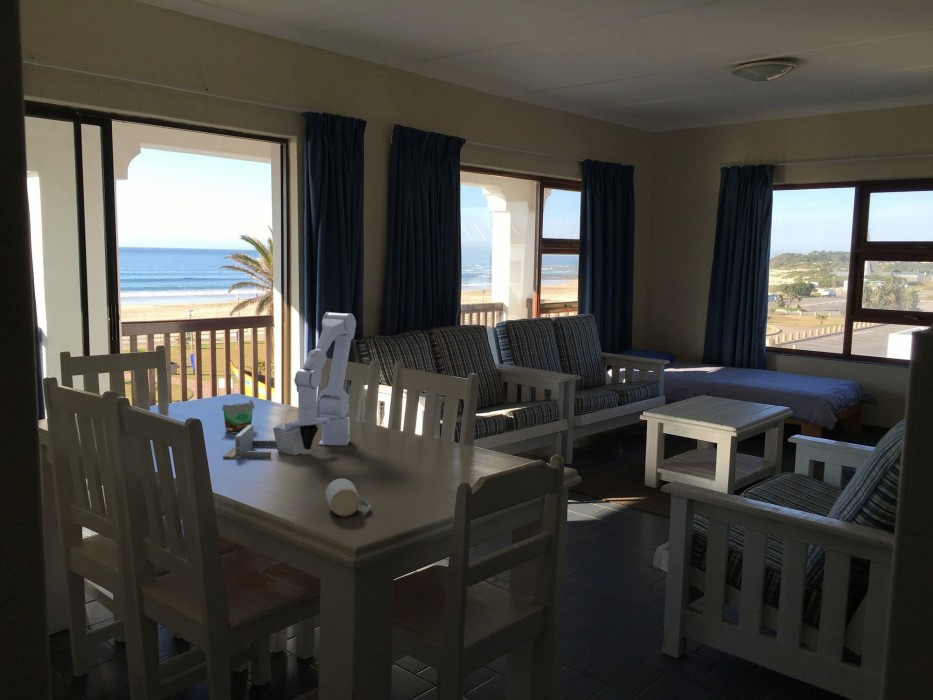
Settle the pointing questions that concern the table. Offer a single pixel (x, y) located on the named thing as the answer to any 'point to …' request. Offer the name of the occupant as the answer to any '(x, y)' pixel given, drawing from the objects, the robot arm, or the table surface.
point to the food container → (237, 416)
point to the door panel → (244, 440)
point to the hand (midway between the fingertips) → (307, 448)
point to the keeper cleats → (259, 453)
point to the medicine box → (288, 439)
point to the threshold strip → (230, 454)
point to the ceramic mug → (345, 498)
